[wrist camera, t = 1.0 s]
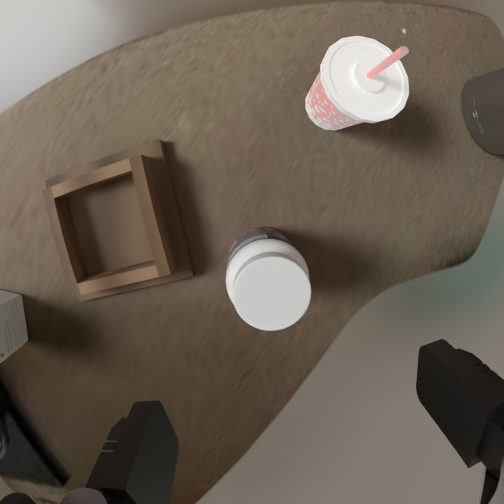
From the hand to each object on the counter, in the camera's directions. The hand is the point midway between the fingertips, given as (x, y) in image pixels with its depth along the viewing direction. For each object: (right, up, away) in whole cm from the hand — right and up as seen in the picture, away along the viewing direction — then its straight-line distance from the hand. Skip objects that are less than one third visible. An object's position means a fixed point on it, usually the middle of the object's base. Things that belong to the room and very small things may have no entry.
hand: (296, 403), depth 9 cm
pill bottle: (-1, +4, +20) cm, 20 cm away
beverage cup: (+6, +17, +17) cm, 25 cm away
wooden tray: (-14, +7, +19) cm, 24 cm away
